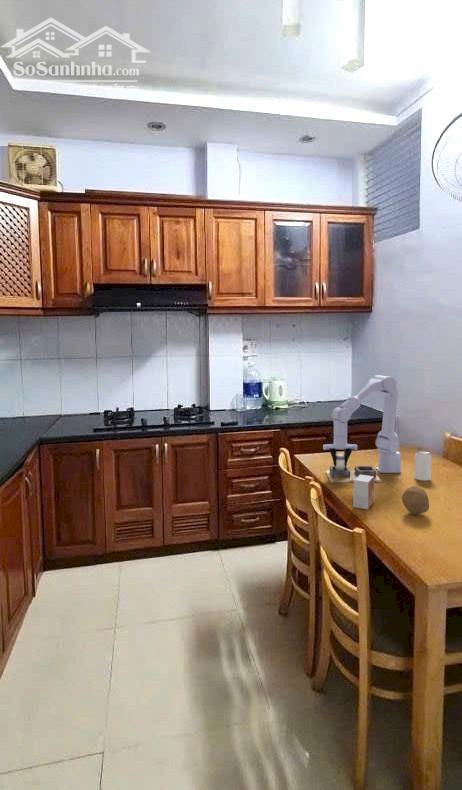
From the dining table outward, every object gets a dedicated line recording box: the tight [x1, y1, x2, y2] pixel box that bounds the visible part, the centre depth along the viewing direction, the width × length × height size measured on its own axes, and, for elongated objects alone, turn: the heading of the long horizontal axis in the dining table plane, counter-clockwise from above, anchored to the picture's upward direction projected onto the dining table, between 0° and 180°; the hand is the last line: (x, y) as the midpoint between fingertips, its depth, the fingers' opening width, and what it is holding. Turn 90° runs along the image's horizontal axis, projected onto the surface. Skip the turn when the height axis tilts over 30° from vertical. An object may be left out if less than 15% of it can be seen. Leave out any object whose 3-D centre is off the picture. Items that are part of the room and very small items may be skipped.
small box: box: [352, 474, 375, 510], centre depth 174 cm, size 8×6×10 cm
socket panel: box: [325, 465, 382, 483], centre depth 207 cm, size 21×14×4 cm, turn 87°
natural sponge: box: [401, 485, 430, 516], centre depth 165 cm, size 9×9×10 cm
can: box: [413, 449, 432, 482], centre depth 203 cm, size 6×6×12 cm
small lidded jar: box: [335, 453, 345, 471], centre depth 206 cm, size 4×4×7 cm
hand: (339, 465), depth 207 cm, fingers closed on small lidded jar, 4 cm apart
